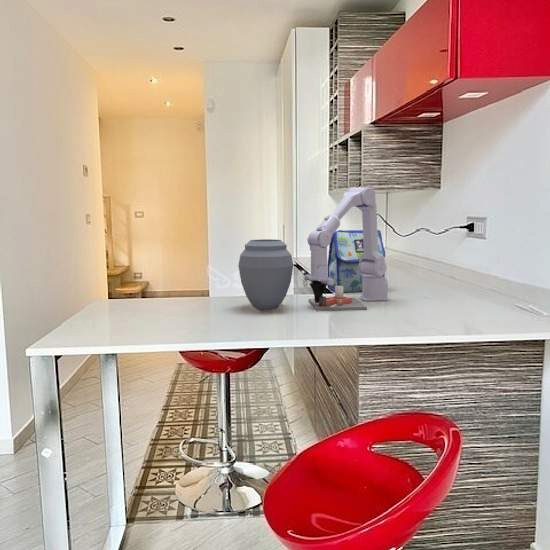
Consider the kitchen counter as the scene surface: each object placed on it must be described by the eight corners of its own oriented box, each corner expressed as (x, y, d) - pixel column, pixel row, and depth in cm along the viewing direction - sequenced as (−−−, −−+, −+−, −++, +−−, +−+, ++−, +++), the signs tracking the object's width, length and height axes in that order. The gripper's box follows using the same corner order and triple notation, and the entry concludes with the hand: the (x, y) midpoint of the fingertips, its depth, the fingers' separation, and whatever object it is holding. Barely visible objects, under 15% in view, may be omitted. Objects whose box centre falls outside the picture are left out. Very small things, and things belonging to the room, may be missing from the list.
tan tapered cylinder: (341, 305, 191) (341, 299, 191) (342, 306, 189) (342, 300, 189) (336, 305, 191) (337, 299, 191) (337, 306, 189) (337, 300, 189)
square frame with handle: (338, 299, 201) (338, 291, 200) (352, 302, 196) (352, 294, 195) (313, 304, 192) (313, 296, 191) (327, 307, 187) (327, 298, 186)
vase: (301, 305, 196) (301, 239, 193) (279, 315, 178) (279, 242, 175) (254, 302, 204) (253, 238, 201) (228, 311, 186) (227, 241, 183)
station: (354, 300, 206) (355, 282, 205) (366, 309, 187) (367, 290, 186) (308, 301, 205) (308, 283, 204) (316, 310, 186) (316, 291, 185)
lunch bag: (338, 294, 220) (338, 231, 217) (325, 288, 236) (325, 229, 233) (387, 292, 225) (389, 230, 222) (371, 286, 241) (372, 228, 238)
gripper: (297, 263, 193) (297, 300, 195) (322, 267, 181) (322, 306, 183) (313, 262, 197) (313, 298, 199) (338, 265, 185) (338, 304, 187)
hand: (318, 302), depth 191 cm, fingers closed, pressing on square frame with handle
